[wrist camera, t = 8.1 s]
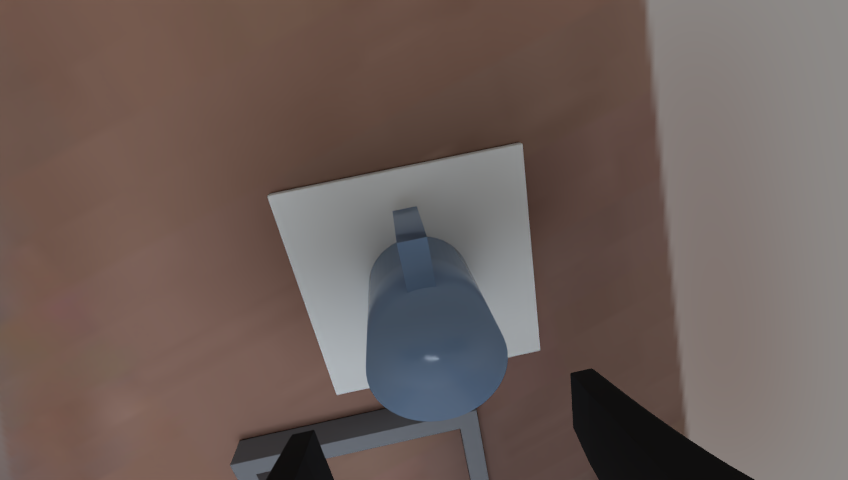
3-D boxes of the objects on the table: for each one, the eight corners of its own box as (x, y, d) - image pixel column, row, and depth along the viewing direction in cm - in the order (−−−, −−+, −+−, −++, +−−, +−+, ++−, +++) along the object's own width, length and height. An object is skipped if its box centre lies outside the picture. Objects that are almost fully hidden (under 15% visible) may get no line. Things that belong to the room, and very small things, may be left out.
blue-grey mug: (475, 315, 20) (513, 404, 14) (381, 335, 20) (382, 434, 14) (456, 188, 17) (493, 237, 12) (348, 210, 17) (334, 271, 12)
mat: (519, 142, 17) (522, 143, 17) (537, 345, 21) (540, 350, 21) (269, 193, 17) (267, 196, 17) (337, 389, 21) (336, 394, 21)
